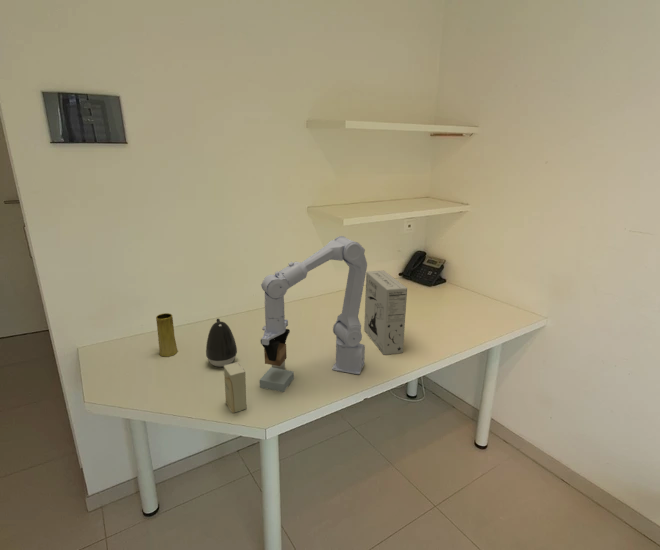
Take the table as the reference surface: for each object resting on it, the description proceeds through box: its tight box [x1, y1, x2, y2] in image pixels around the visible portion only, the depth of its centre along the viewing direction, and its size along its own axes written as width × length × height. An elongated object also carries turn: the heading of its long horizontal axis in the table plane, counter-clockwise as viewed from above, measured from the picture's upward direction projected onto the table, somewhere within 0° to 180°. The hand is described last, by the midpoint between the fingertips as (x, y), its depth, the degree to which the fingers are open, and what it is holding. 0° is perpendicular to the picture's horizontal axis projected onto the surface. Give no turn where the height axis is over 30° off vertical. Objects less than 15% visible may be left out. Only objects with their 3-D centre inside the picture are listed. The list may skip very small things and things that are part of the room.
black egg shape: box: [205, 318, 238, 368], centre depth 137 cm, size 10×10×15 cm
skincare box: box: [223, 361, 247, 414], centre depth 114 cm, size 6×4×12 cm
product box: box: [363, 270, 408, 356], centre depth 153 cm, size 22×8×25 cm, turn 14°
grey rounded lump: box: [271, 360, 286, 370], centre depth 135 cm, size 4×4×4 cm
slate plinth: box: [259, 366, 295, 393], centre depth 127 cm, size 8×8×3 cm
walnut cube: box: [263, 343, 288, 366], centre depth 125 cm, size 5×5×5 cm
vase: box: [155, 312, 179, 357], centre depth 144 cm, size 6×6×14 cm
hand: (276, 356), depth 125 cm, fingers closed on walnut cube, 5 cm apart
